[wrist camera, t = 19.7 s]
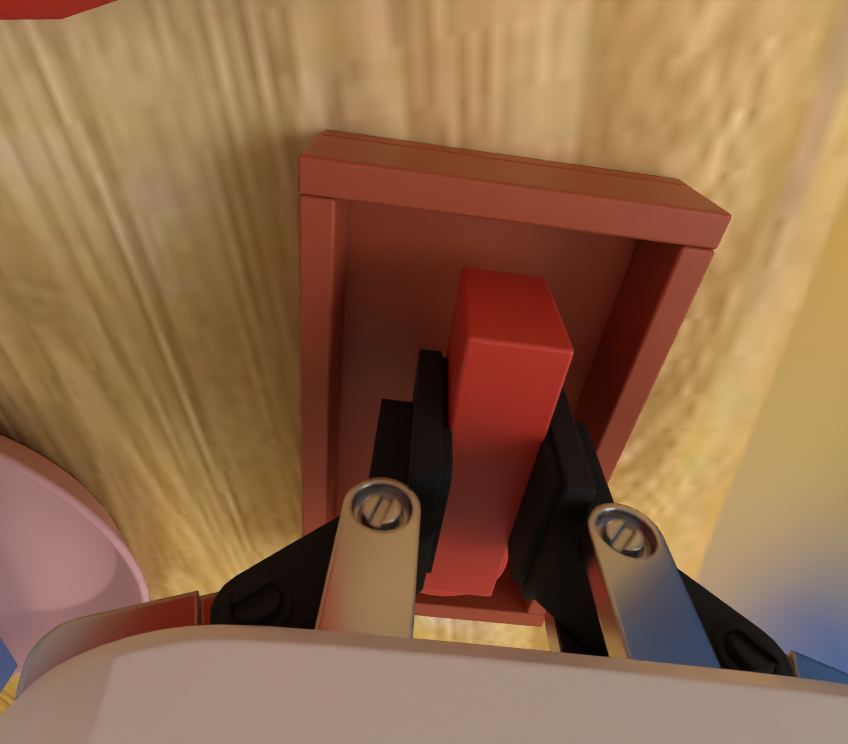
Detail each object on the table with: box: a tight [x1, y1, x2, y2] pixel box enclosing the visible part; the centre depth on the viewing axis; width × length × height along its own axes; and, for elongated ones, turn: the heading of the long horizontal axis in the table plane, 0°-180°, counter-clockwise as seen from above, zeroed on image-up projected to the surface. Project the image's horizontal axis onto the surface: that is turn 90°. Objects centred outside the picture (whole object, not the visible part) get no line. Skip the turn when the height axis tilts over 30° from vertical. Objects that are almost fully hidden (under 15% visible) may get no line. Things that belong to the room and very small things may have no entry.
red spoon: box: [420, 267, 574, 596], centre depth 13 cm, size 10×4×3 cm, turn 173°
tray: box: [298, 130, 731, 627], centre depth 14 cm, size 14×8×3 cm, turn 173°
